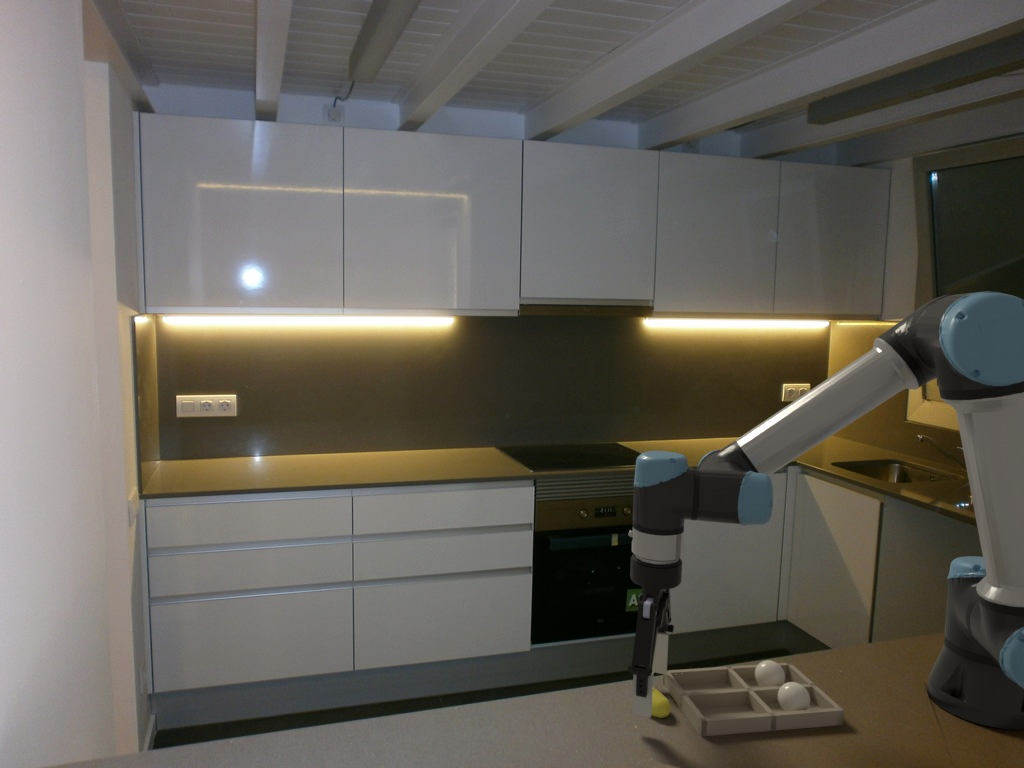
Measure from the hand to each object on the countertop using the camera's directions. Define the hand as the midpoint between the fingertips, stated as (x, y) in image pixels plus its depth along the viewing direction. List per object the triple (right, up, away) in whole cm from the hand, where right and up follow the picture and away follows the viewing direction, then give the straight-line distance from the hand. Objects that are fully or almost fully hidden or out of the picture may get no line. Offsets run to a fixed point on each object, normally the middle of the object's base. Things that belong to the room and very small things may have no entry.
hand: (650, 692), depth 114 cm
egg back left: (+21, -3, -1) cm, 22 cm away
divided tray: (+15, -3, +2) cm, 16 cm away
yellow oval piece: (0, -3, 0) cm, 3 cm away
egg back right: (+20, -2, +6) cm, 21 cm away
